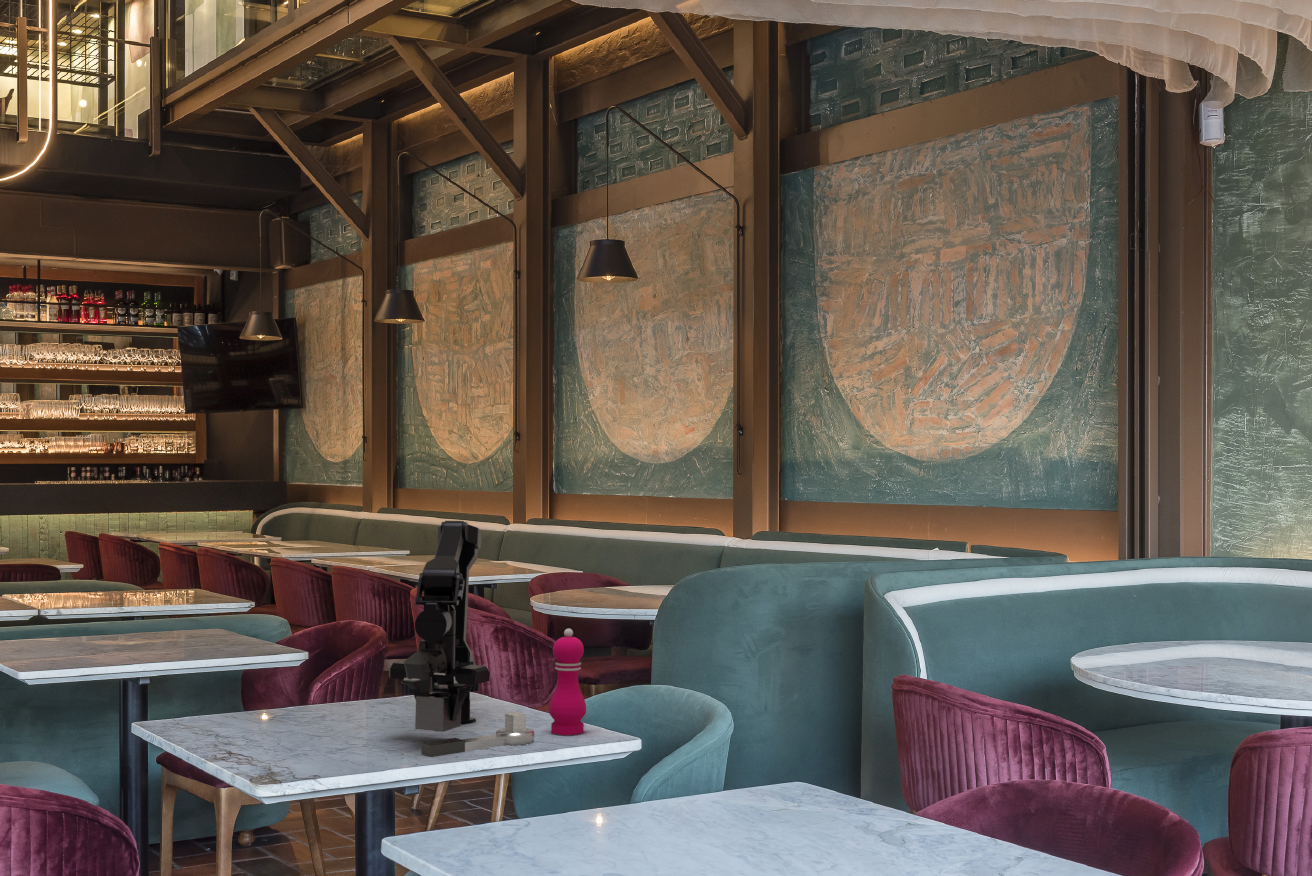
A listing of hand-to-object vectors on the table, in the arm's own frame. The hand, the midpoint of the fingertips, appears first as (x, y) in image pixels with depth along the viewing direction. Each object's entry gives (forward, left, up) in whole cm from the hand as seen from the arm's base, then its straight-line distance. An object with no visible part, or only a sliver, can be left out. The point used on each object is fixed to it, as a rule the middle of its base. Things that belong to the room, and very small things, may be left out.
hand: (438, 719), depth 236 cm
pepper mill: (+8, +24, -4) cm, 26 cm away
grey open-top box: (0, 0, -2) cm, 2 cm away
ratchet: (+9, +3, -4) cm, 10 cm away
